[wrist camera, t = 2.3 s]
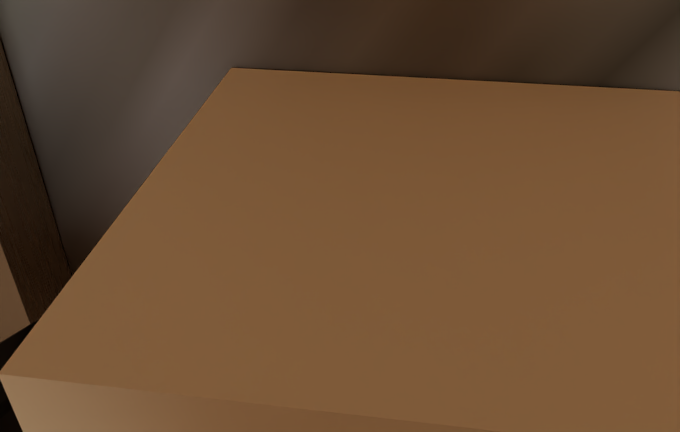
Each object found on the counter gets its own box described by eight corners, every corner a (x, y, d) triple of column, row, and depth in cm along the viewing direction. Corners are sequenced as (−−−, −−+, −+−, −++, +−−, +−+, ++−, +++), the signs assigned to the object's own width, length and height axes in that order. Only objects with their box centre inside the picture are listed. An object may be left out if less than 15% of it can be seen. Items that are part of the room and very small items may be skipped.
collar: (748, 94, 7) (1137, 504, 3) (618, 434, 11) (725, 847, 6) (231, 67, 8) (-3, 373, 4) (263, 394, 11) (157, 744, 7)
